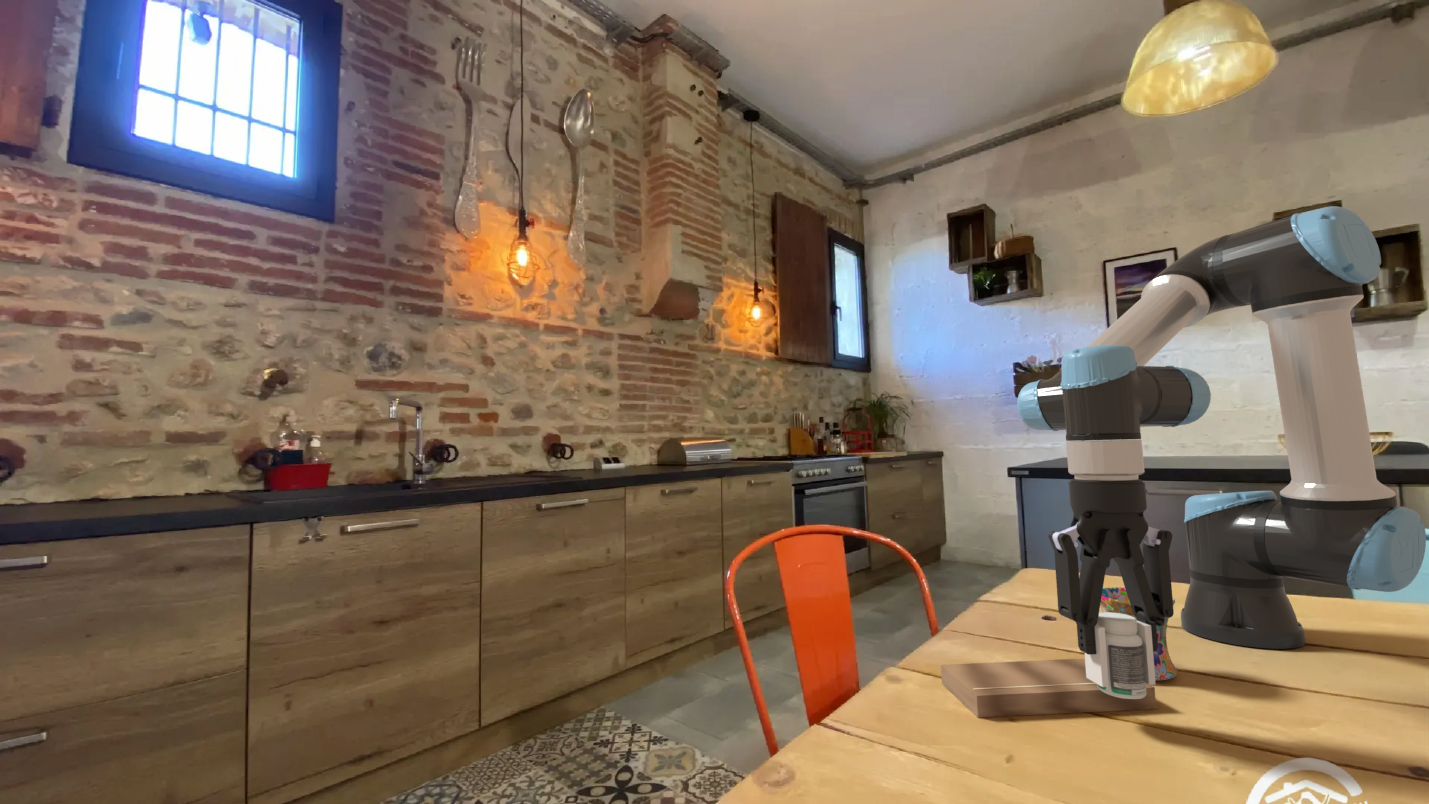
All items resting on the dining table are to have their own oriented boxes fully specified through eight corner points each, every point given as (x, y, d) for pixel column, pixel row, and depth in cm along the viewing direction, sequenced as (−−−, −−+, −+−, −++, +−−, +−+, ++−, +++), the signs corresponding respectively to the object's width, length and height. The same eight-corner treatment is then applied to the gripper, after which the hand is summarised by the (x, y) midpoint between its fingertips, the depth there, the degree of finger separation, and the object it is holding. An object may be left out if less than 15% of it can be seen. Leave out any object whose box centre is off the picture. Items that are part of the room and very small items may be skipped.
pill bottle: (1156, 696, 66) (1150, 619, 67) (1127, 703, 65) (1122, 624, 65) (1115, 681, 71) (1110, 609, 71) (1087, 687, 69) (1082, 613, 70)
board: (1098, 676, 81) (1097, 657, 81) (1156, 708, 71) (1154, 686, 71) (941, 683, 80) (940, 664, 80) (977, 717, 70) (976, 695, 70)
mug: (1199, 680, 79) (1192, 599, 80) (1146, 690, 76) (1139, 606, 77) (1116, 651, 90) (1110, 581, 91) (1067, 659, 88) (1062, 586, 89)
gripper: (1152, 473, 74) (1168, 665, 72) (1014, 477, 73) (1026, 672, 71) (1205, 476, 66) (1224, 691, 64) (1051, 481, 65) (1066, 698, 64)
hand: (1120, 680), depth 68 cm, fingers closed on pill bottle, 5 cm apart
